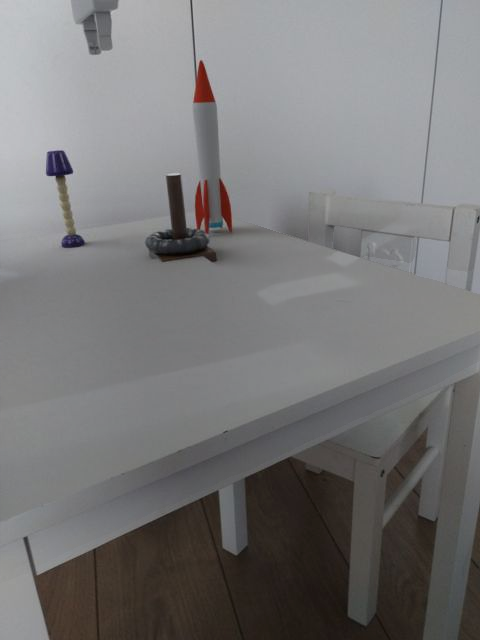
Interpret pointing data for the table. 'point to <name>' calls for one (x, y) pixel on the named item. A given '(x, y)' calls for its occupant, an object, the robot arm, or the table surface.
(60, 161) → the toy lamp
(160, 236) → the ring
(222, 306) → the table surface
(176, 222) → the stand
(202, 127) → the toy rocket
